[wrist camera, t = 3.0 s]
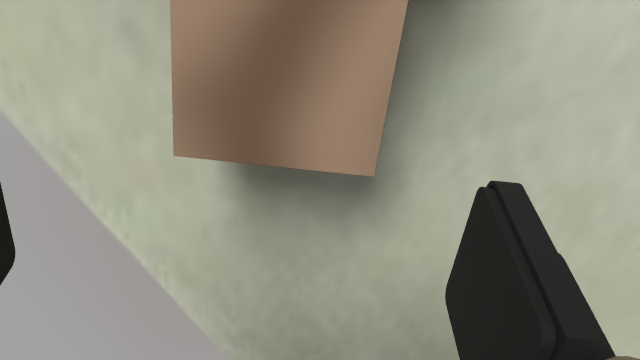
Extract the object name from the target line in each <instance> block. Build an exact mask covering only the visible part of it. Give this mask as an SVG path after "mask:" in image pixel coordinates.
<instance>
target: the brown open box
mask: <svg viewBox="0 0 640 360" xmlns="http://www.w3.org/2000/svg"><path fill="white" fill-rule="evenodd" d="M407 4H408V0H170V9H171V56H172V102H173V149H174V156H180V157H190V158H200V159H209V160H219V161H228V162H238V163H247V164H257V165H266V166H276V167H286V168H295V169H305V170H314V171H324V172H333V173H343V174H352V175H362V176H372V177H374V173H375V168H376V163H377V158H378V153H379V148H380V143H381V137H382V132H383V127H384V122H385V117H386V112H387V107H388V102H389V96H390V91H391V86H392V81H393V76H394V71H395V66H396V61H397V56H398V50H399V45H400V40H401V35H402V30H403V25H404V20H405V15H406V9H407Z"/></svg>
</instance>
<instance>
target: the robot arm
mask: <svg viewBox="0 0 640 360" xmlns="http://www.w3.org/2000/svg"><path fill="white" fill-rule="evenodd" d="M14 259H15V247H14V242H13V238H12V233H11V228H10V224H9V219H8V215H7V210H6V206H5V201H4V197H3V192H2V189H1V184H0V285H1V283H2V282H3V280H4V279H5V277H6V276H7V274H8V272H9V271H10V269H11V268H12V266H13V263H14ZM445 298H446V306H447V310H448V314H449V318H450V322H451V326H452V330H453V334H454V338H455V342H456V346H457V350H458V353H459V357H460V360H640V359H637V358H633V357H629V356H615V354H614V352H613V350H612V348H611V346H610V344H609V343H608V341H607V339H606V337H605V335H604V333H603V331H602V329H601V327H600V326H599V324H598V322H597V320H596V318H595V316H594V314H593V312H592V311H591V309H590V307H589V305H588V303H587V301H586V299H585V297H584V296H583V294H582V292H581V290H580V288H579V286H578V284H577V282H576V281H575V279H574V277H573V275H572V273H571V271H570V269H569V267H568V265H567V264H566V262H565V260H564V258H563V257H562V256H561V254H559V253H558V252H557V250H556V249H555V247H554V245H553V243H552V241H551V239H550V237H549V235H548V233H547V231H546V230H545V228H544V226H543V224H542V222H541V220H540V218H539V216H538V214H537V212H536V210H535V209H534V207H533V205H532V203H531V201H530V199H529V197H528V195H527V193H526V191H525V190H524V188H523V186H522V185H521V184H519V183H511V182H501V181H490V182H489V183H488V185H487V187H480V188H479V189H478V190H477V193H476V196H475V199H474V202H473V205H472V208H471V211H470V214H469V218H468V221H467V224H466V227H465V230H464V233H463V236H462V239H461V243H460V246H459V249H458V252H457V255H456V258H455V261H454V265H453V268H452V271H451V274H450V277H449V280H448V283H447V287H446V296H445Z"/></svg>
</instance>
